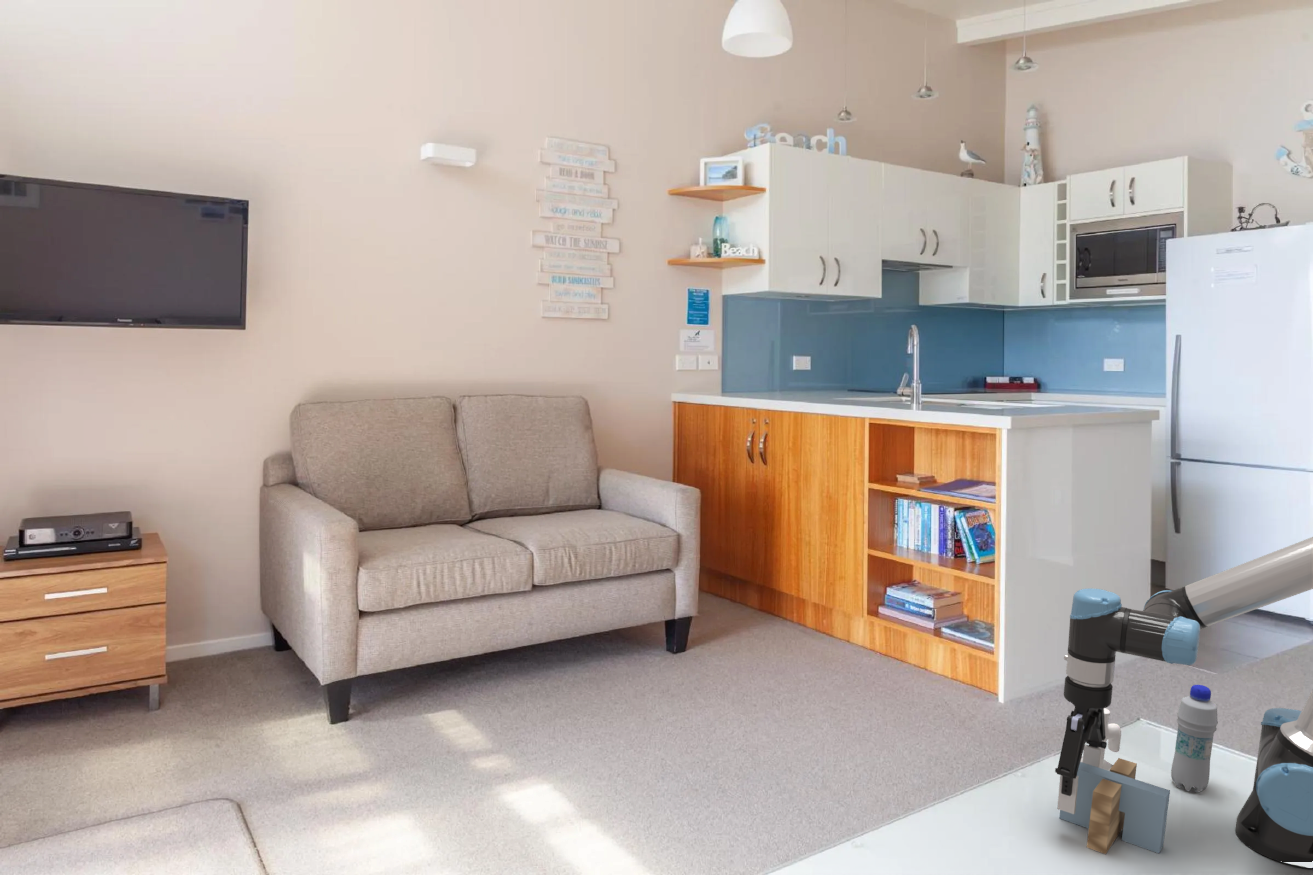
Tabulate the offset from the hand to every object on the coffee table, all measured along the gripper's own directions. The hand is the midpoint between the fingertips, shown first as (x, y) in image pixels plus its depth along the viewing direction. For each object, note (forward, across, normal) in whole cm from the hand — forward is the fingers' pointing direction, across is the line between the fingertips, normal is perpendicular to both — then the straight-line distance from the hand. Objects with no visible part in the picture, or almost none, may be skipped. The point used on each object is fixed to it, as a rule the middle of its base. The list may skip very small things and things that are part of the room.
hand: (1078, 795), depth 170 cm
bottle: (+5, -28, +12) cm, 31 cm away
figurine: (+5, -16, -2) cm, 17 cm away
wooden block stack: (+4, 0, +6) cm, 7 cm away
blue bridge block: (+4, 0, +6) cm, 7 cm away
